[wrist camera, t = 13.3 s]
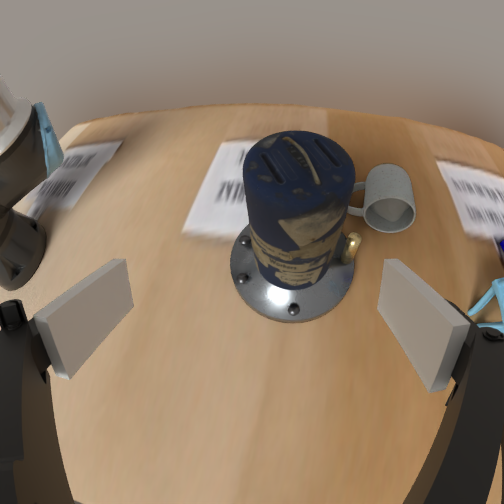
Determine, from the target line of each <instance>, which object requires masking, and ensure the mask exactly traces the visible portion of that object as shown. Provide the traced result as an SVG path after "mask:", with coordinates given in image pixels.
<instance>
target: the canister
mask: <svg viewBox="0 0 504 504" xmlns="http://www.w3.org/2000/svg"><path fill="white" fill-rule="evenodd" d="M243 181H244V188H245V195H246V203H247V209H248V216H249V227H250V235H251V243H252V247H253V253H254V259H255V263H256V266H257V269H258V271H259V272H260V274H261V275H262V276H263V277H264V278H265V279H266V280H267V281H268V282H269V283H271V284H272V285H274V286H276V287H278V288H281V289H285V290H302V289H305V288H308V287H311V286H313V285H314V284H316V283H317V282H318V281H320V280H321V279H322V278H323V276H324V275H325V274H326V272H327V270H328V268H329V266H330V263H331V260H332V257H333V254H334V251H335V247H336V244H337V241H338V239H339V237H340V234H341V231H342V227H343V224H344V220H345V218H346V213H347V210H348V206H349V203H350V199H351V196H352V192H353V188H354V184H355V168H354V165H353V162H352V159H351V158H350V156H349V155H348V154H347V152H346V151H345V150H344V149H343V148H342V147H341V146H340V145H338V144H337V143H336V142H334V141H333V140H331V139H329V138H327V137H325V136H322V135H319V134H316V133H312V132H307V131H284V132H279V133H275V134H272V135H269V136H267V137H265V138H263V139H262V140H260V141H259V142H257V143H256V144H255V145H254V146H253V147H252V148H251V149H250V150H249V152H248V154H247V155H246V158H245V160H244V164H243Z"/></svg>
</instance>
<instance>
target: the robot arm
mask: <svg viewBox="0 0 504 504" xmlns="http://www.w3.org/2000/svg"><path fill="white" fill-rule="evenodd" d="M63 159H64V154H63V151H62V149H61V147H60V144H59V142H58V139H57V137H56V134H55V132H54V130H53V127H52V125H51V122H50V120H49V117H48V114H47V112H46V110H45V107H44V105H43V103H42V102H39V103H36V104H34V106H32V105H31V103H30V101H29V100H28V99H27V98H15V97H14V96H13V94H12V93H11V91H10V89H9V88H8V86H7V85H6V83H5V81H4V80H3V78H2V76H1V75H0V286H1V287H3V288H4V289H6V290H8V291H13V290H16V289H18V288H20V287H22V286H23V285H24V284H25V283H26V282H27V281H28V280H29V279H30V278H31V277H32V275H33V274H34V272H35V271H36V269H37V267H38V265H39V263H40V261H41V259H42V256H43V253H44V250H45V244H46V234H45V230H44V228H43V227H42V226H41V225H40V224H39V223H38V222H37V221H36V220H35V219H33V218H31V217H28V216H26V215H24V214H22V213H20V212H17V211H15V210H14V209H13V208H12V207H13V206H14V205H15V204H16V203H18V202H19V201H20V200H21V199H22V198H23V197H24V196H26V195H27V194H28V193H29V192H30V191H31V190H33V189H34V188H35V187H36V186H38V185H39V184H40V183H41V182H42V181H44V180H45V179H46V178H48V177H49V176H50V174H51V173H53V172H54V171H55V170H56V169H57V168H58V167H60V165H61V164H62V162H63ZM133 307H134V304H133V299H132V294H131V289H130V283H129V277H128V271H127V265H126V259H113V260H111V261H110V262H108V263H107V264H105V265H104V266H102V267H101V268H99V269H98V270H96V271H95V272H93V273H92V274H90V275H89V276H87V277H86V278H84V279H83V280H81V281H80V282H79V283H77V284H76V285H74V286H73V287H71V288H70V289H69V290H67V291H66V292H64V293H63V294H62V295H60V296H59V297H57V298H56V299H55V300H53V301H52V302H51V303H49V304H48V305H46V306H45V307H44V308H42V309H41V310H40V311H38V312H37V313H36V314H34V315H33V318H32V319H31V320H29V321H28V320H27V317H26V314H25V311H24V308H23V304H22V301H21V300H18V299H14V300H9V301H5V302H3V303H1V304H0V326H1V331H0V504H74V500H73V497H72V494H71V491H70V487H69V484H68V480H67V477H66V473H65V469H64V465H63V461H62V456H61V452H60V447H59V442H58V437H57V431H56V425H55V419H54V412H53V404H52V395H51V384H50V376H49V373H48V371H47V368H48V367H49V366H50V365H51V364H52V367H53V369H54V371H55V374H56V376H59V377H62V378H65V379H68V380H70V379H71V378H72V377H73V376H74V374H75V373H76V372H77V371H78V370H79V368H80V367H81V366H82V365H83V364H84V363H85V361H86V360H87V359H88V358H89V357H90V355H91V354H92V353H93V352H94V351H95V350H96V348H97V347H98V346H99V345H100V344H101V343H102V342H103V340H104V339H105V338H106V337H107V336H108V335H109V334H110V332H111V331H112V330H113V329H114V328H115V327H116V326H117V324H118V323H119V322H120V321H121V320H122V319H123V318H124V317H125V316H126V314H127V313H128V312H129V311H130V310H131V309H132V308H133ZM377 309H378V311H379V312H380V314H381V315H382V317H383V319H384V320H385V322H386V323H387V325H388V326H389V328H390V329H391V331H392V333H393V334H394V336H395V337H396V339H397V340H398V342H399V344H400V345H401V347H402V348H403V350H404V352H405V353H406V355H407V357H408V358H409V360H410V362H411V363H412V365H413V367H414V368H415V370H416V372H417V373H418V375H419V377H420V379H421V380H422V382H423V384H424V386H425V387H426V389H427V391H428V393H432V392H436V391H440V390H444V389H446V387H447V385H448V383H449V380H450V378H451V376H452V378H453V379H454V380H455V382H456V384H455V386H454V388H453V390H452V392H451V394H450V396H449V398H448V400H447V402H446V404H445V406H447V408H446V411H445V414H444V417H443V420H442V422H441V425H440V428H439V430H438V433H437V435H436V438H435V440H434V442H433V445H432V447H431V449H430V452H429V454H428V456H427V458H426V460H425V463H424V465H423V467H422V469H421V471H420V473H419V475H418V477H417V479H416V481H415V482H414V484H413V486H412V488H411V490H410V492H409V493H408V495H407V497H406V499H405V500H404V502H403V504H486V501H487V498H488V495H489V491H490V488H491V485H492V481H493V477H494V473H495V469H496V465H497V460H498V455H499V450H500V445H501V450H502V501H501V504H504V334H503V333H502V332H501V331H499V330H498V329H495V328H492V327H480V328H479V327H478V326H477V325H476V324H475V323H474V322H473V321H472V320H471V319H470V318H469V317H468V316H467V315H465V313H464V312H462V311H461V310H460V309H459V308H458V307H457V306H456V305H455V304H454V303H452V302H450V301H448V300H446V299H444V298H443V297H442V296H440V295H439V294H438V293H437V292H436V291H435V290H434V289H433V288H431V287H430V286H429V285H428V284H427V283H426V282H425V281H423V280H422V279H421V278H420V277H419V276H418V275H416V274H415V273H414V272H413V271H412V270H411V269H409V268H408V267H407V266H406V265H405V264H403V263H402V262H401V261H400V260H399V259H384V266H383V274H382V281H381V288H380V295H379V301H378V307H377Z"/></svg>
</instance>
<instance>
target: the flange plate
mask: <svg viewBox="0 0 504 504" xmlns="http://www.w3.org/2000/svg"><path fill="white" fill-rule="evenodd" d="M361 240H362V238H361V236H360V235H359V234H358V233H356V232H352V233H350V234H349V236H348V239H347V238H346V237H345V235H344V234H343V233H342V232H341V234H340V237H339V239H338V241H337V244H336V247H335V251H334V254H333V257H332V260H331V263H330V266H329V268H328V270H327V272H326V274H325V275H324V276H323V278H322V279H321V280H320V281H318V282H317V283H316V284H314V285H313V286H311V287H308V288H305V289H302V290H285V289H281V288H278V287H276V286H274V285H272V284H271V283H269V282H268V281H267V280H266V279H265V278H264V277H263V276H262V275H261V274H260V272H259V271H258V269H257V266H256V263H255V259H254V253H253V247H252V243H251V235H250V227H249V224H248V225H247V226H246V227H245V228H244V229H243V231H242V232H241V233H240V234H239V236H238V237H237V239H236V241H235V243H234V246H233V249H232V252H231V258H230V268H231V274H232V278H233V281H234V284H235V287H236V289H237V291H238V293H239V295H240V296H241V298H242V299H243V300H244V301H245V303H246V304H247V305H248V306H249V307H250V308H252V309H253V310H254V311H255V312H257V313H259V314H260V315H262V316H264V317H266V318H268V319H271V320H274V321H278V322H283V323H303V322H308V321H311V320H314V319H317V318H319V317H321V316H323V315H325V314H327V313H328V312H330V311H331V310H332V309H334V308H335V307H336V306H337V305H338V304H339V302H340V301H341V300H342V299H343V297H344V295H345V294H346V292H347V290H348V289H349V286H350V284H351V281H352V278H353V274H354V256H355V254H356V251H357V249H358V247H359V245H360V243H361Z"/></svg>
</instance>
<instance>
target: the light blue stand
mask: <svg viewBox="0 0 504 504" xmlns="http://www.w3.org/2000/svg"><path fill="white" fill-rule="evenodd" d="M495 294H496V297H497V299H498V302H499V306H500V310H501V315H502V322H493V323H479V324H476V325H477V326H478V327H479V328H480V327H492V328H495V329H498V330H499V331H501V332H502V333H503V334H504V278H499V279H495V280H494V281H493V282H492V286H491V287H490V289H489V290H488V291H487V292H486V294H485V295H484V296H483V297H482V298H481V299H480V300H479V301H478V303H477V304H476V305H475V306H474V307H473V308H471V309H470V310H468V315H470V316H471V315H473V314H475V313H477V312H478V311H479V310H481V309H482V308H483V307H484V306H485V305H486V304H487V303H488V302H489V301H490V300H491V298H492V297H493V296H494V295H495Z"/></svg>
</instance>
